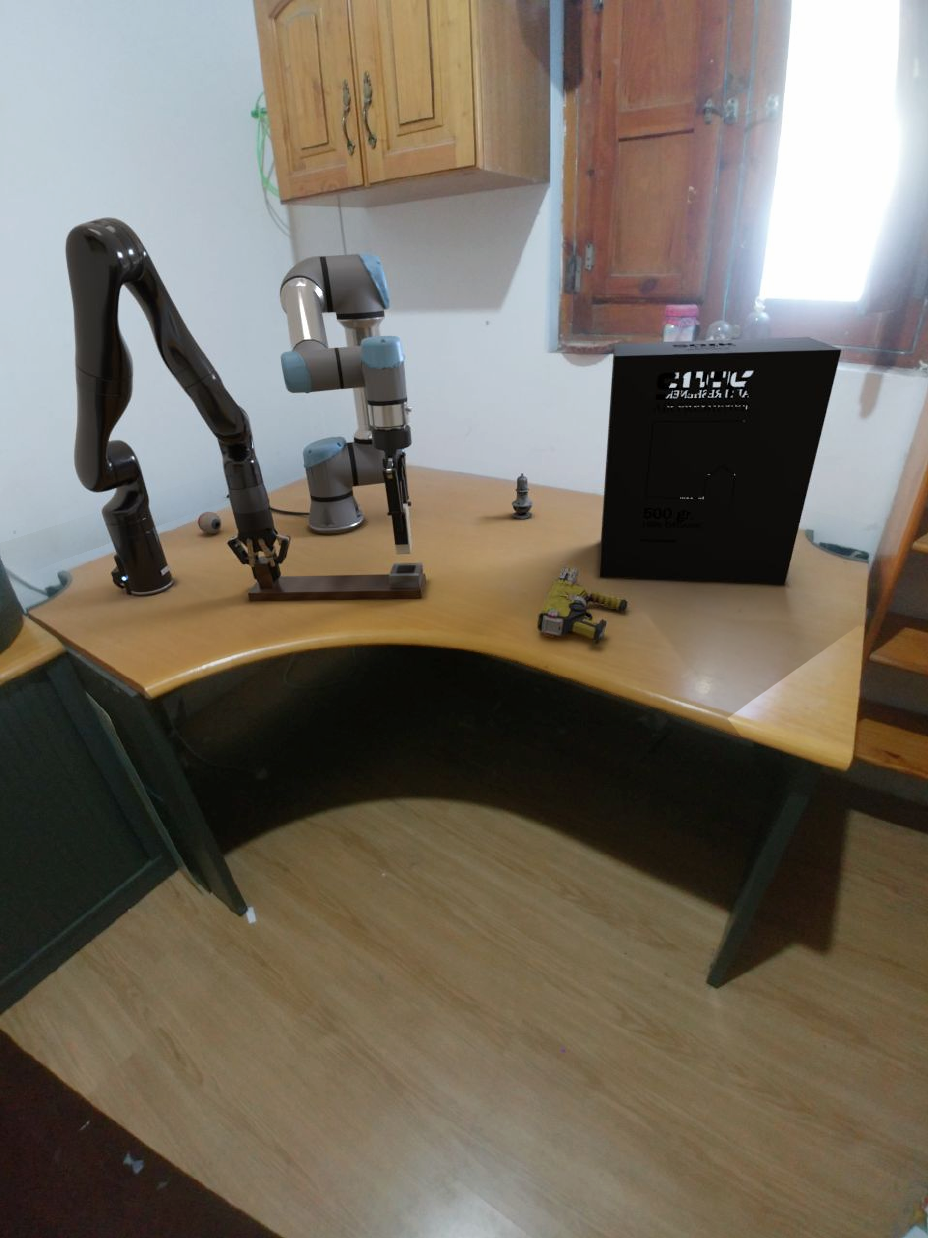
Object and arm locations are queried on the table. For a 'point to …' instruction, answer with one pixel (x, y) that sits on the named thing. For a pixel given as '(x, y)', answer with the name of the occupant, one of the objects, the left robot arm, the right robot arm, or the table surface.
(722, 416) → the cardboard box
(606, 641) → the table surface
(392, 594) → the peg board
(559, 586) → the toy gun
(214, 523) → the eyeball
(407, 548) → the peg
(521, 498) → the salt shaker
